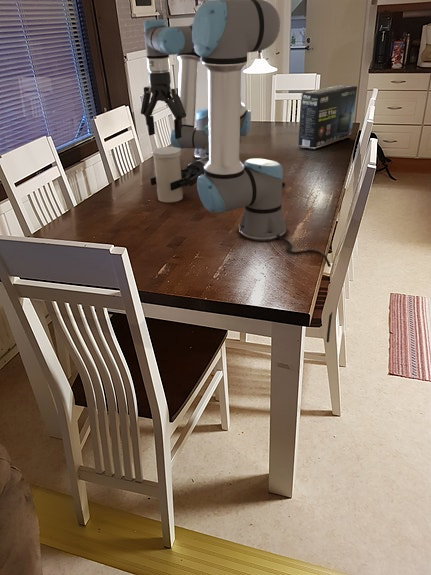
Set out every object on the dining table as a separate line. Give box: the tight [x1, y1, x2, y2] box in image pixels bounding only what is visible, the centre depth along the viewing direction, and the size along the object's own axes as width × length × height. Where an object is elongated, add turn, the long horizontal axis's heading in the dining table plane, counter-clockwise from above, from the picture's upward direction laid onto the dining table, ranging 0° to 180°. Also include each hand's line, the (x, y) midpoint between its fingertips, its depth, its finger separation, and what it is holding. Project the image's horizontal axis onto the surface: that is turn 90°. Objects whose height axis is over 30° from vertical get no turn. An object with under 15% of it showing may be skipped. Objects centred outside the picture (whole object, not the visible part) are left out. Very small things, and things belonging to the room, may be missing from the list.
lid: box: [151, 146, 182, 159], centre depth 171 cm, size 11×11×2 cm
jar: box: [153, 155, 184, 203], centre depth 176 cm, size 10×10×18 cm
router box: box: [297, 84, 358, 151], centre depth 238 cm, size 36×11×27 cm, turn 134°
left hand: (161, 184), depth 174 cm, fingers closed on jar, 10 cm apart
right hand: (165, 136), depth 168 cm, fingers open, 12 cm apart
